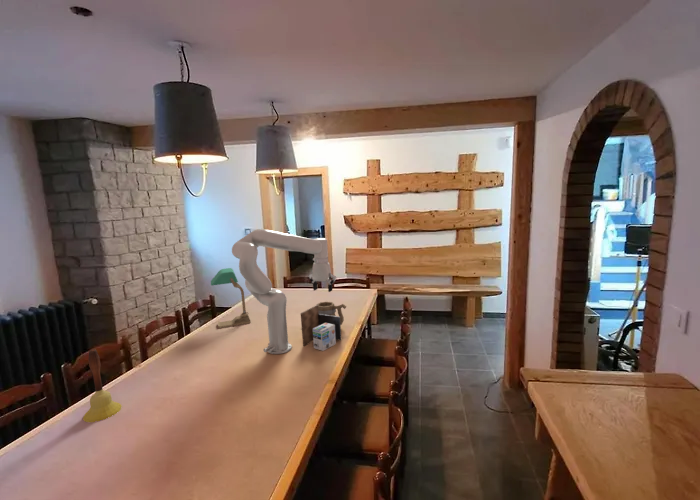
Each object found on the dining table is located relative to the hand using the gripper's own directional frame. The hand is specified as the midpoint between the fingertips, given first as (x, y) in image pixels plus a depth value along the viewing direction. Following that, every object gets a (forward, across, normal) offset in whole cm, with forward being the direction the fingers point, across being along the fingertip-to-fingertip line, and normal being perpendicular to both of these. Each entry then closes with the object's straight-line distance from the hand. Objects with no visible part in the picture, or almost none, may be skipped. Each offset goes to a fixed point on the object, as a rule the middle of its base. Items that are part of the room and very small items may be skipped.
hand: (322, 290), depth 202 cm
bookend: (+25, +7, -5) cm, 26 cm away
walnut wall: (+25, -1, -12) cm, 28 cm away
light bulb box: (+25, +9, -15) cm, 31 cm away
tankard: (+25, -1, +10) cm, 27 cm away
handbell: (+27, -40, -98) cm, 109 cm away
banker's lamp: (+26, -64, -6) cm, 70 cm away
